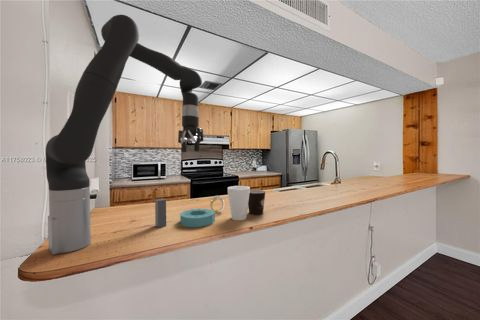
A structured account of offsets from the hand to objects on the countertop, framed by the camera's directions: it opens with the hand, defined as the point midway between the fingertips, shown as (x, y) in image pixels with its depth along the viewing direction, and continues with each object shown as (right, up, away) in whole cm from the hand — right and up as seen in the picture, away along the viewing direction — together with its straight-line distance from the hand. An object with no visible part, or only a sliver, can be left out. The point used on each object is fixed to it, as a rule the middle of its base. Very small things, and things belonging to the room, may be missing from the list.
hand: (190, 151), depth 94 cm
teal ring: (+6, -29, -11) cm, 31 cm away
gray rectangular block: (-7, -29, -16) cm, 34 cm away
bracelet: (+12, -29, +1) cm, 31 cm away
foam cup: (+22, -29, -7) cm, 37 cm away
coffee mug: (+32, -28, +1) cm, 43 cm away
